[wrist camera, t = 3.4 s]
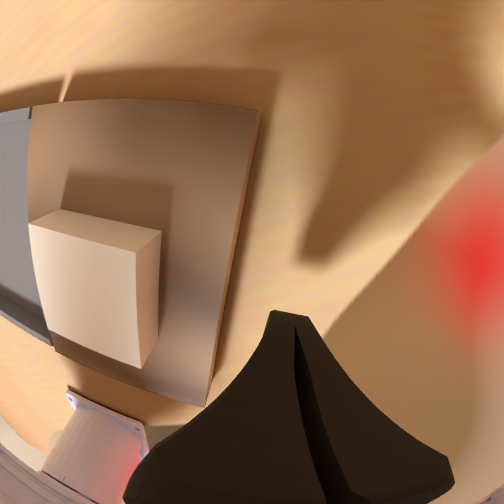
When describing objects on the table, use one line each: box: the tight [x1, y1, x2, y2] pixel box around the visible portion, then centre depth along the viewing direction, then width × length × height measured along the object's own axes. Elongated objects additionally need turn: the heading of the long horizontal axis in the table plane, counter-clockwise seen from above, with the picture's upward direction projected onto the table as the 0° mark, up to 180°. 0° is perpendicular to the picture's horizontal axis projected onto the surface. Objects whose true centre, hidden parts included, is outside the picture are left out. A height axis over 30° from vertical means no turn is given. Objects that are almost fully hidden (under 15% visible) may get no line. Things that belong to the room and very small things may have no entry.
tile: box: [28, 209, 162, 369], centre depth 9 cm, size 5×5×2 cm
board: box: [27, 99, 261, 408], centre depth 11 cm, size 14×10×2 cm
